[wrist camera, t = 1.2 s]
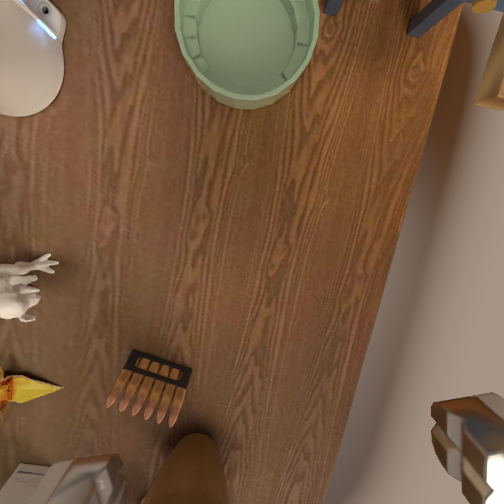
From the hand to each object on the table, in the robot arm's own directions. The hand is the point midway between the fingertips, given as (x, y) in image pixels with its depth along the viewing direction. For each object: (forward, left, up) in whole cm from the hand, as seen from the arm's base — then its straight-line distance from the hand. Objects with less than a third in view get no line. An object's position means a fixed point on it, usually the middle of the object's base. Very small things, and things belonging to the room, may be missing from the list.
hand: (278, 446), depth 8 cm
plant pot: (+30, -31, -40) cm, 59 cm away
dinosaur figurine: (-14, -33, -40) cm, 54 cm away
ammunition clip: (+12, -25, -40) cm, 49 cm away
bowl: (-21, +14, -40) cm, 47 cm away
